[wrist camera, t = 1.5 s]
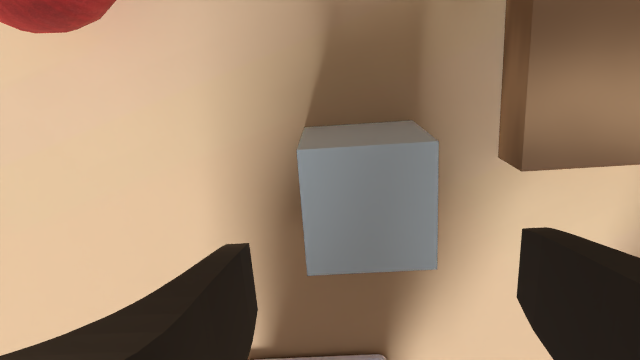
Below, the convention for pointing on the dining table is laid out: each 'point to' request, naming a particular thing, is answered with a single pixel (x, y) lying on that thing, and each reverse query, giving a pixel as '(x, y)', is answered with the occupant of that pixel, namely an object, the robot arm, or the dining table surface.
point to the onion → (52, 14)
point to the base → (570, 84)
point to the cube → (369, 197)
